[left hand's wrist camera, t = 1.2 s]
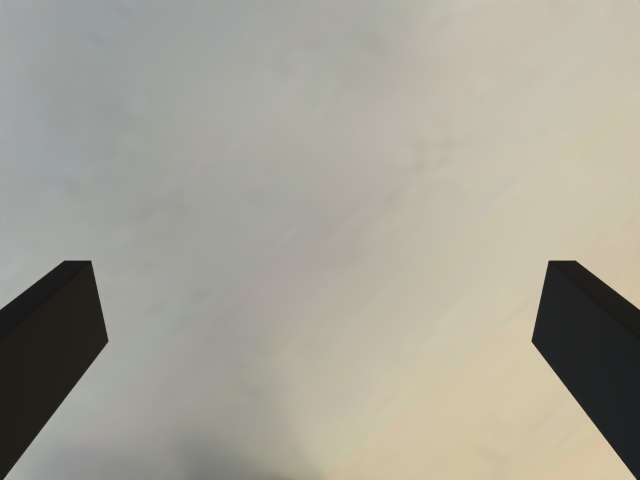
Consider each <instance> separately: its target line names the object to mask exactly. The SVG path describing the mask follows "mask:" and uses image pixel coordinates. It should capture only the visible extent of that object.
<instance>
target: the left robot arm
mask: <svg viewBox="0 0 640 480" xmlns="http://www.w3.org/2000/svg"><path fill="white" fill-rule="evenodd" d="M108 342H109V341H108V337H107V332H106V327H105V323H104V318H103V313H102V309H101V304H100V299H99V295H98V290H97V285H96V281H95V276H94V271H93V267H92V262H91V261H63V262H62V263H61V264H59V265H58V266H57V267H56V268H54V269H53V270H52V271H50V272H49V273H48V274H46V275H45V276H44V277H43V278H41V279H40V280H39V281H37V282H36V283H35V284H33V285H32V286H31V287H30V288H28V289H27V290H26V291H24V292H23V293H22V294H20V295H19V296H18V297H17V298H15V299H14V300H13V301H11V302H10V303H9V304H7V305H6V306H5V307H4V308H2V309H1V310H0V480H3V479H4V478H5V477H6V475H7V474H8V473H9V471H10V470H11V469H12V467H13V466H14V465H15V464H16V462H17V461H18V460H19V458H20V457H21V456H22V454H23V453H24V452H25V450H26V449H27V448H28V446H29V445H30V444H31V443H32V441H33V440H34V439H35V437H36V436H37V435H38V433H39V432H40V431H41V429H42V428H43V427H44V425H45V424H46V423H47V422H48V420H49V419H50V418H51V416H52V415H53V414H54V412H55V411H56V410H57V408H58V407H59V406H60V404H61V403H62V402H63V401H64V399H65V398H66V397H67V395H68V394H69V393H70V391H71V390H72V389H73V387H74V386H75V385H76V383H77V382H78V381H79V380H80V378H81V377H82V376H83V374H84V373H85V372H86V370H87V369H88V368H89V366H90V365H91V364H92V363H93V361H94V360H95V359H96V357H97V356H98V355H99V353H100V352H101V351H102V349H103V348H104V347H105V345H106V344H107V343H108ZM531 342H532V343H533V344H534V345H535V347H536V348H537V349H538V351H539V352H540V353H541V355H542V356H543V357H544V359H545V360H546V361H547V363H548V364H549V365H550V366H551V368H552V369H553V370H554V372H555V373H556V374H557V376H558V377H559V378H560V380H561V381H562V382H563V383H564V385H565V386H566V387H567V389H568V390H569V391H570V393H571V394H572V395H573V397H574V398H575V399H576V401H577V402H578V403H579V404H580V406H581V407H582V408H583V410H584V411H585V412H586V414H587V415H588V416H589V418H590V419H591V420H592V422H593V423H594V424H595V425H596V427H597V428H598V429H599V431H600V432H601V433H602V435H603V436H604V437H605V439H606V440H607V441H608V443H609V444H610V445H611V446H612V448H613V449H614V450H615V452H616V453H617V454H618V456H619V457H620V458H621V460H622V461H623V462H624V464H625V465H626V466H627V467H628V469H629V470H630V471H631V473H632V474H633V475H634V477H635V478H636V479H637V480H640V310H639V309H638V308H636V307H635V306H634V305H633V304H631V303H630V302H629V301H627V300H626V299H625V298H623V297H622V296H621V295H620V294H618V293H617V292H616V291H614V290H613V289H612V288H610V287H609V286H608V285H607V284H605V283H604V282H603V281H601V280H600V279H599V278H597V277H596V276H595V275H594V274H592V273H591V272H590V271H588V270H587V269H586V268H584V267H583V266H582V265H581V264H579V263H578V262H577V261H549V262H548V267H547V271H546V276H545V281H544V285H543V290H542V295H541V299H540V304H539V309H538V313H537V318H536V323H535V327H534V332H533V337H532V341H531Z"/></svg>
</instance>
